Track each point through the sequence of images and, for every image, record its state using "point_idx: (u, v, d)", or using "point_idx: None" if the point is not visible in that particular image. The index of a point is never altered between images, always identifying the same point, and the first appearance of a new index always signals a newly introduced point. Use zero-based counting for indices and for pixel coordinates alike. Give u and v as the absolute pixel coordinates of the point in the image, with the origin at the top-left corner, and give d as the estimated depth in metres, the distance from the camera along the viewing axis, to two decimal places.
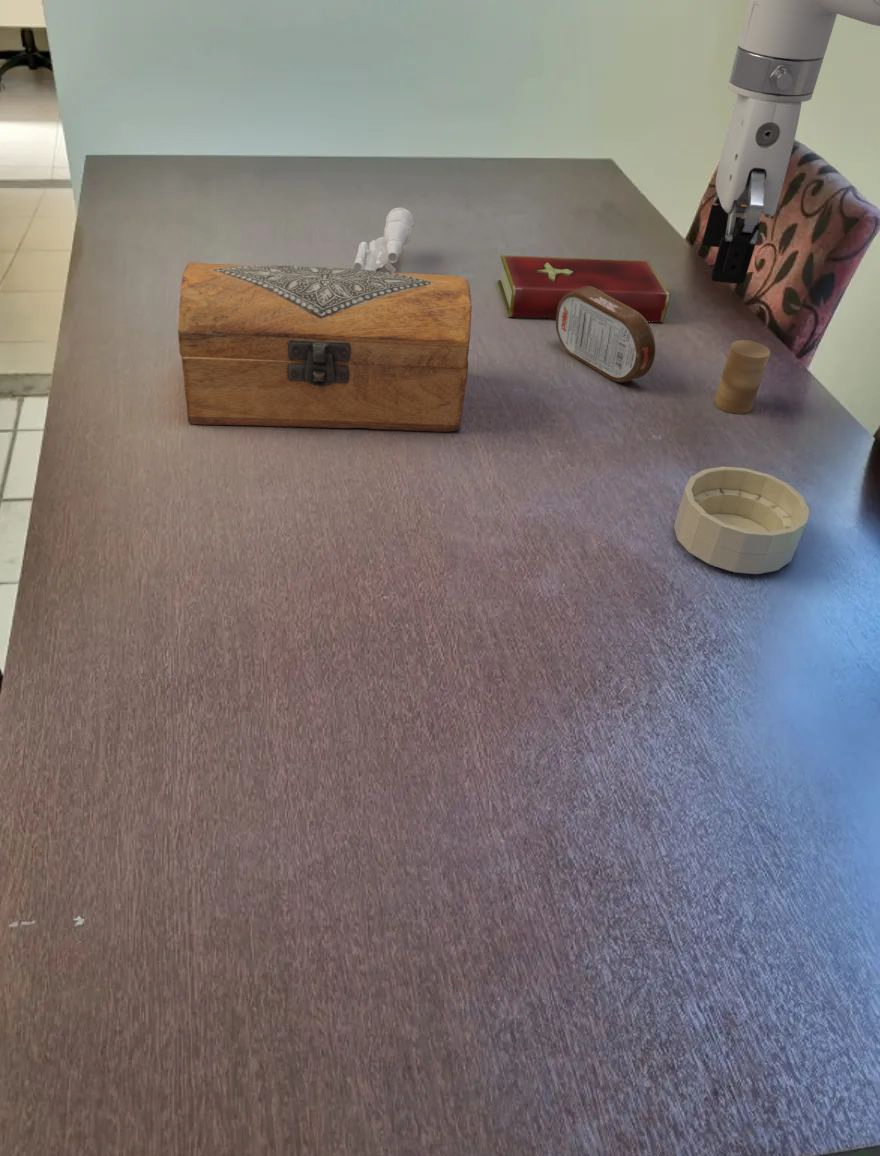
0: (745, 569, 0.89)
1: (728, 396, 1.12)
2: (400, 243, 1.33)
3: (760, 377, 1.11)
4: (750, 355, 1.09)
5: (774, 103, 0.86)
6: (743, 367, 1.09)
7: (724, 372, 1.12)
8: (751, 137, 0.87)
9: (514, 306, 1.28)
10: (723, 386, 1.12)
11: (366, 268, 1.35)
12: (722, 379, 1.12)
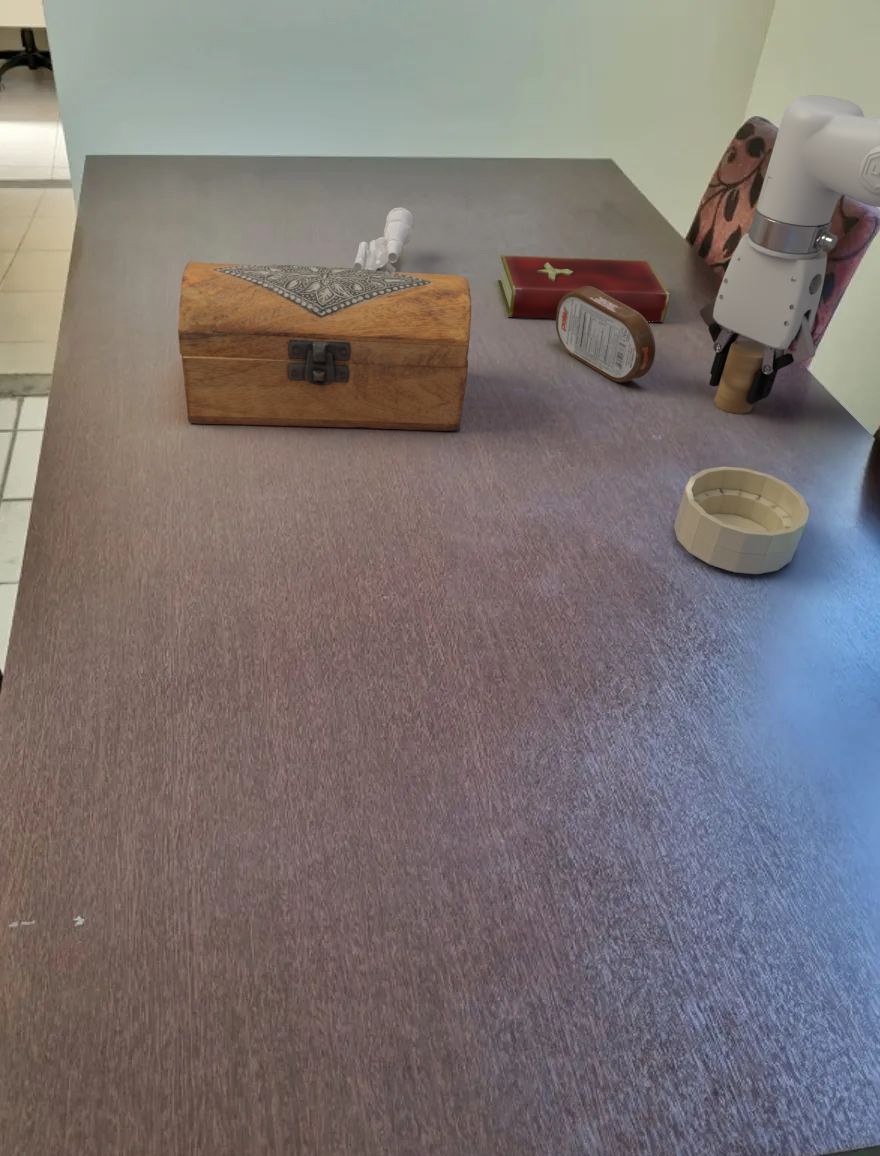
0: (745, 569, 0.89)
1: (728, 396, 1.12)
2: (400, 243, 1.33)
3: None
4: (750, 355, 1.09)
5: (818, 259, 1.00)
6: (743, 367, 1.09)
7: (724, 372, 1.12)
8: (806, 289, 1.01)
9: (514, 306, 1.28)
10: (723, 386, 1.12)
11: (366, 268, 1.35)
12: (722, 379, 1.12)
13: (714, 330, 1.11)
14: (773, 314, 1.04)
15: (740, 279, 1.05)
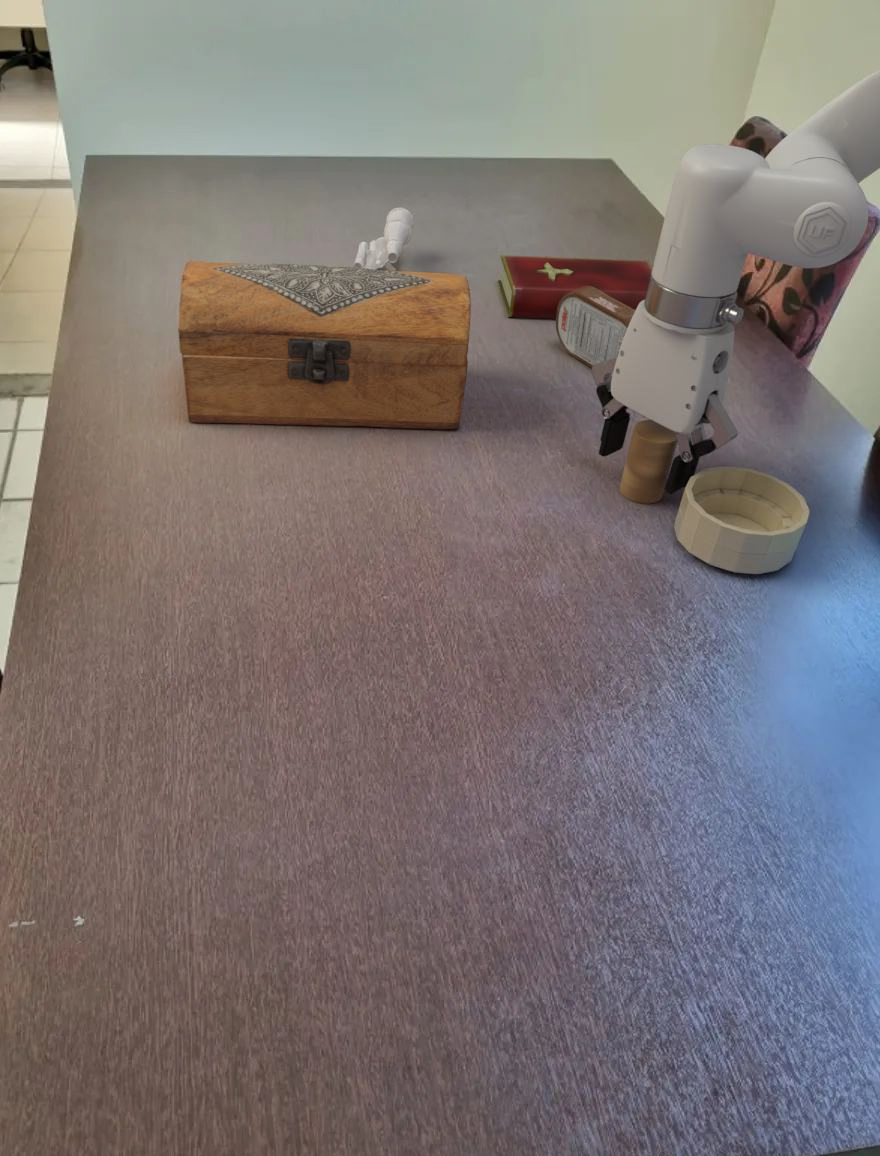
0: (745, 569, 0.89)
1: (633, 485, 0.97)
2: (400, 243, 1.33)
3: (668, 463, 0.95)
4: (654, 440, 0.93)
5: (722, 334, 0.85)
6: (648, 453, 0.94)
7: (628, 457, 0.97)
8: (709, 369, 0.86)
9: (514, 306, 1.28)
10: (627, 472, 0.97)
11: None
12: (626, 464, 0.97)
13: (602, 393, 0.97)
14: (673, 395, 0.89)
15: (637, 352, 0.90)
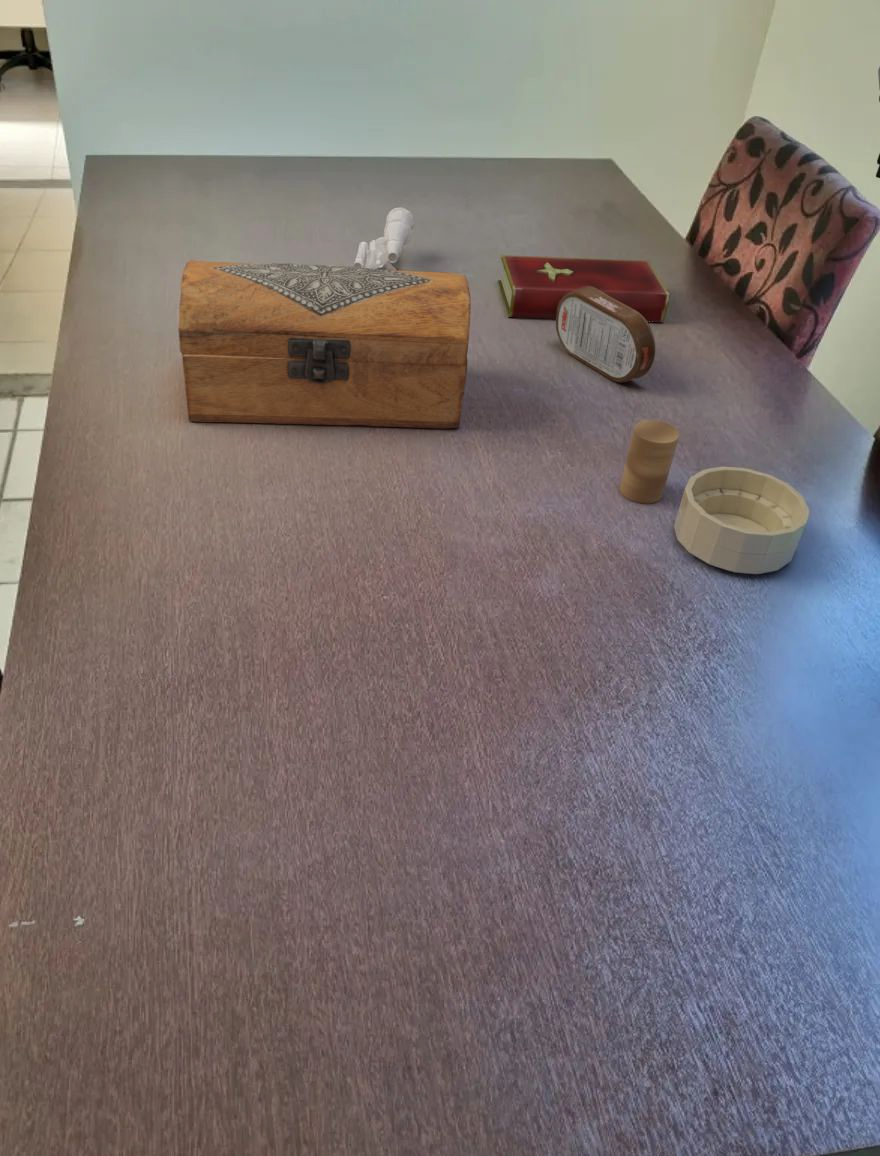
0: (745, 569, 0.89)
1: (633, 485, 0.97)
2: (400, 243, 1.33)
3: (668, 463, 0.95)
4: (654, 440, 0.93)
5: None
6: (648, 453, 0.94)
7: (628, 457, 0.97)
8: None
9: (514, 306, 1.28)
10: (627, 472, 0.97)
11: None
12: (626, 464, 0.97)
13: None
14: None
15: None
